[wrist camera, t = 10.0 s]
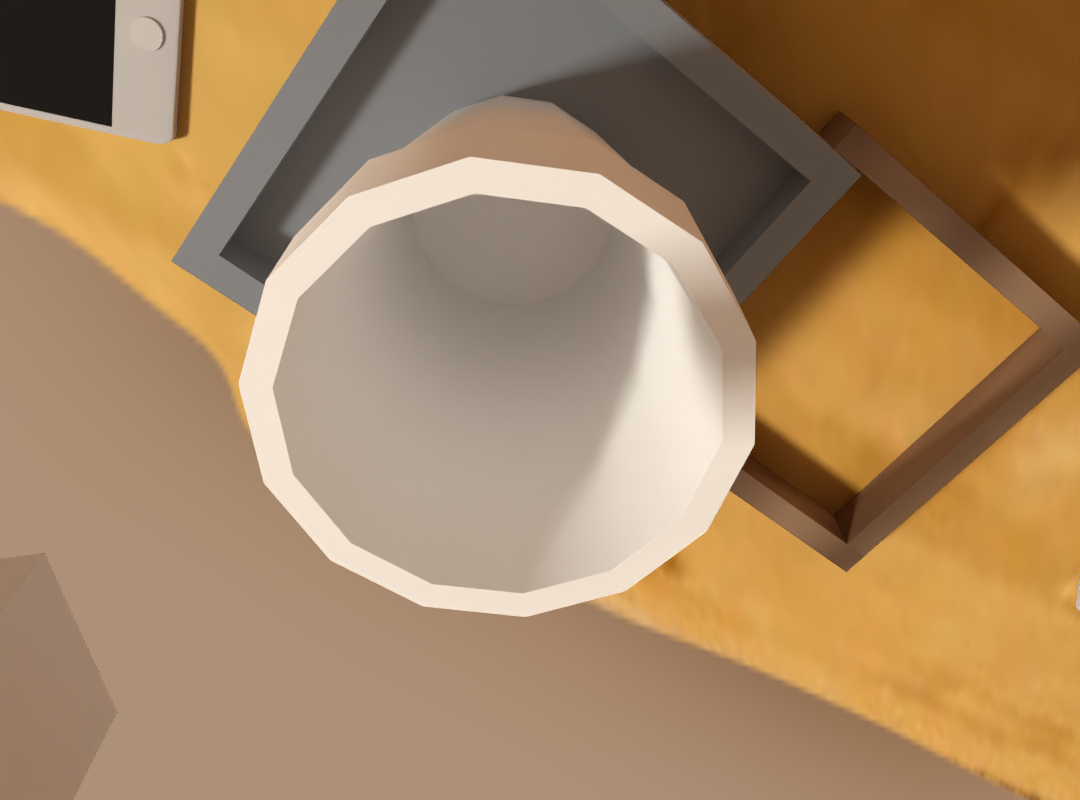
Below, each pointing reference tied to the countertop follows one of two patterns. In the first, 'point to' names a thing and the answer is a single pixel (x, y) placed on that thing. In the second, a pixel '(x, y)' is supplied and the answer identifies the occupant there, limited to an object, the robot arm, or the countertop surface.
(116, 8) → the smartphone
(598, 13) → the charcoal stand
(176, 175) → the countertop surface
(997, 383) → the walnut collar
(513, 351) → the foam cup
